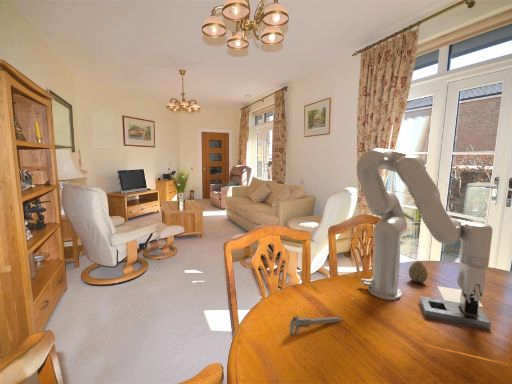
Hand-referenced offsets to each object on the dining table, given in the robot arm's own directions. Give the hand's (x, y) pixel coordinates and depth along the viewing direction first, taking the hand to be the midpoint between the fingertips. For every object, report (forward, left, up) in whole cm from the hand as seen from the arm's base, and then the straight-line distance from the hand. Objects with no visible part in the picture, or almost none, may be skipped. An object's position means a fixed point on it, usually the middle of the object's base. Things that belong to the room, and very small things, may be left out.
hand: (468, 309), depth 90 cm
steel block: (0, 0, -3) cm, 3 cm away
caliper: (-48, -24, -4) cm, 53 cm away
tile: (+1, +16, -4) cm, 17 cm away
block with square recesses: (-5, 0, -4) cm, 6 cm away
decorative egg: (-12, +24, -4) cm, 27 cm away
